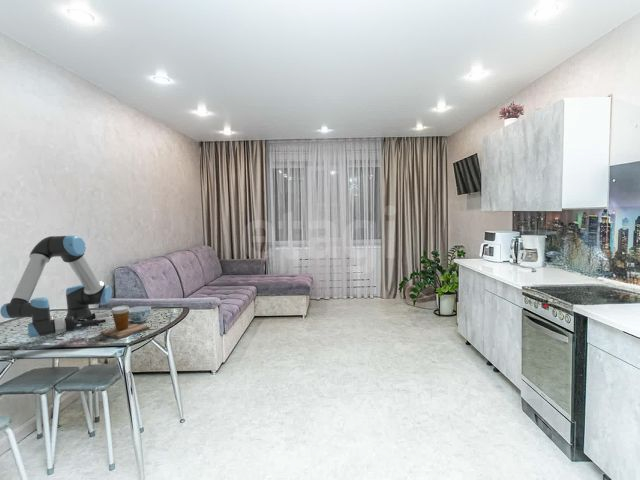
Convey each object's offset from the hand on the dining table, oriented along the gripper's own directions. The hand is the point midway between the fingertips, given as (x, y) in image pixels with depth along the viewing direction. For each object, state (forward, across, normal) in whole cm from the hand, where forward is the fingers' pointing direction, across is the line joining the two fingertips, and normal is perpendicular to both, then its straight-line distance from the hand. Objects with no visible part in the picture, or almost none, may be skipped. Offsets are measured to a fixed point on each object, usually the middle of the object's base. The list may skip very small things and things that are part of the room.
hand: (110, 316), depth 215 cm
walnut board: (+7, 0, -10) cm, 12 cm away
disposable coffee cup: (+6, -3, -8) cm, 11 cm away
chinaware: (+18, -19, -10) cm, 28 cm away
